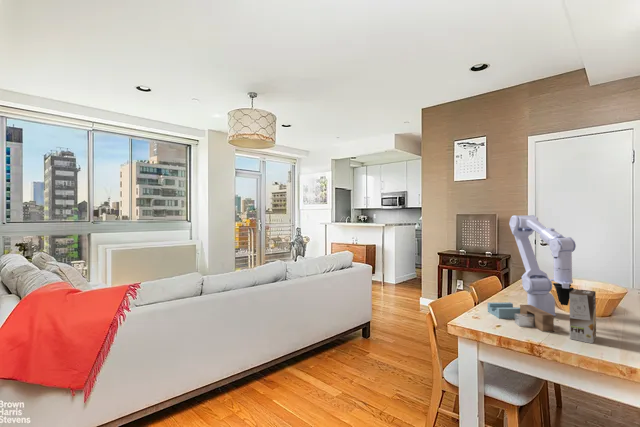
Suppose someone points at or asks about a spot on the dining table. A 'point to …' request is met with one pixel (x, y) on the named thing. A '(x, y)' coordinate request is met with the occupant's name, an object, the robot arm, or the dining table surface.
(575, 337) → the coffee box
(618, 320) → the dining table surface
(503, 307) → the v block
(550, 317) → the brown bridge block
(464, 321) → the dining table surface
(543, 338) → the dining table surface
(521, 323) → the grey rectangular bar
